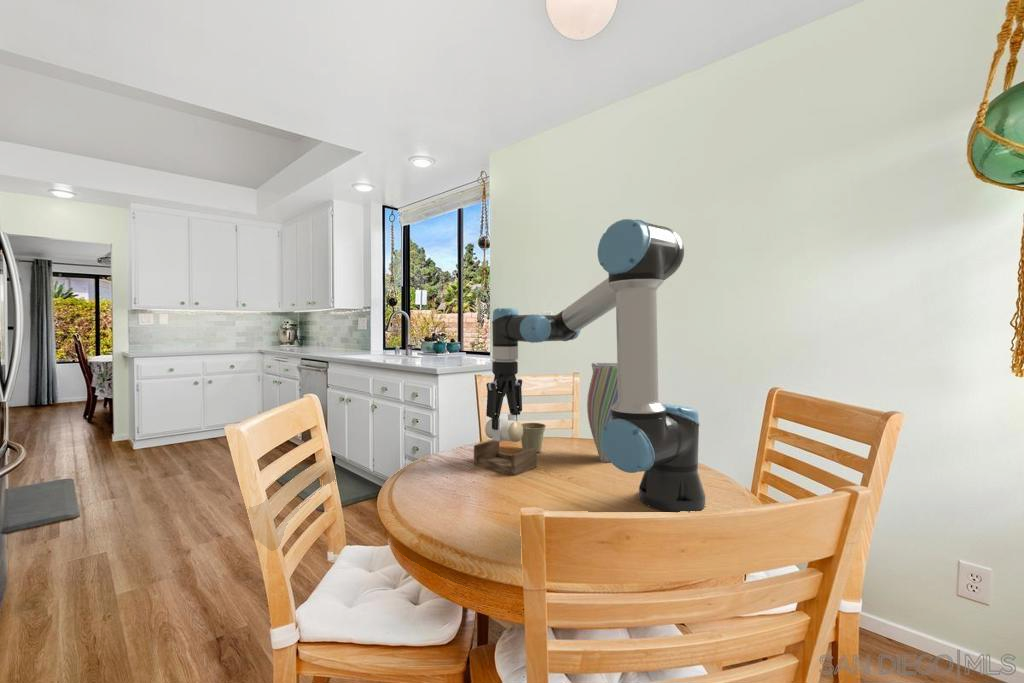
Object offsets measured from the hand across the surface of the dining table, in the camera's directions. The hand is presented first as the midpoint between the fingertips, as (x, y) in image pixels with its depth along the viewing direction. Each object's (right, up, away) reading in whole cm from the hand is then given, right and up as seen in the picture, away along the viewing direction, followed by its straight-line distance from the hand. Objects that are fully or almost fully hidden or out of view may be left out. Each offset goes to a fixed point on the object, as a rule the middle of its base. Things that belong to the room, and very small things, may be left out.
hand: (504, 438), depth 138 cm
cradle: (0, -8, 0) cm, 8 cm away
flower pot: (+9, -8, +16) cm, 20 cm away
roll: (0, -1, 0) cm, 1 cm away
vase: (+32, -8, +7) cm, 34 cm away
